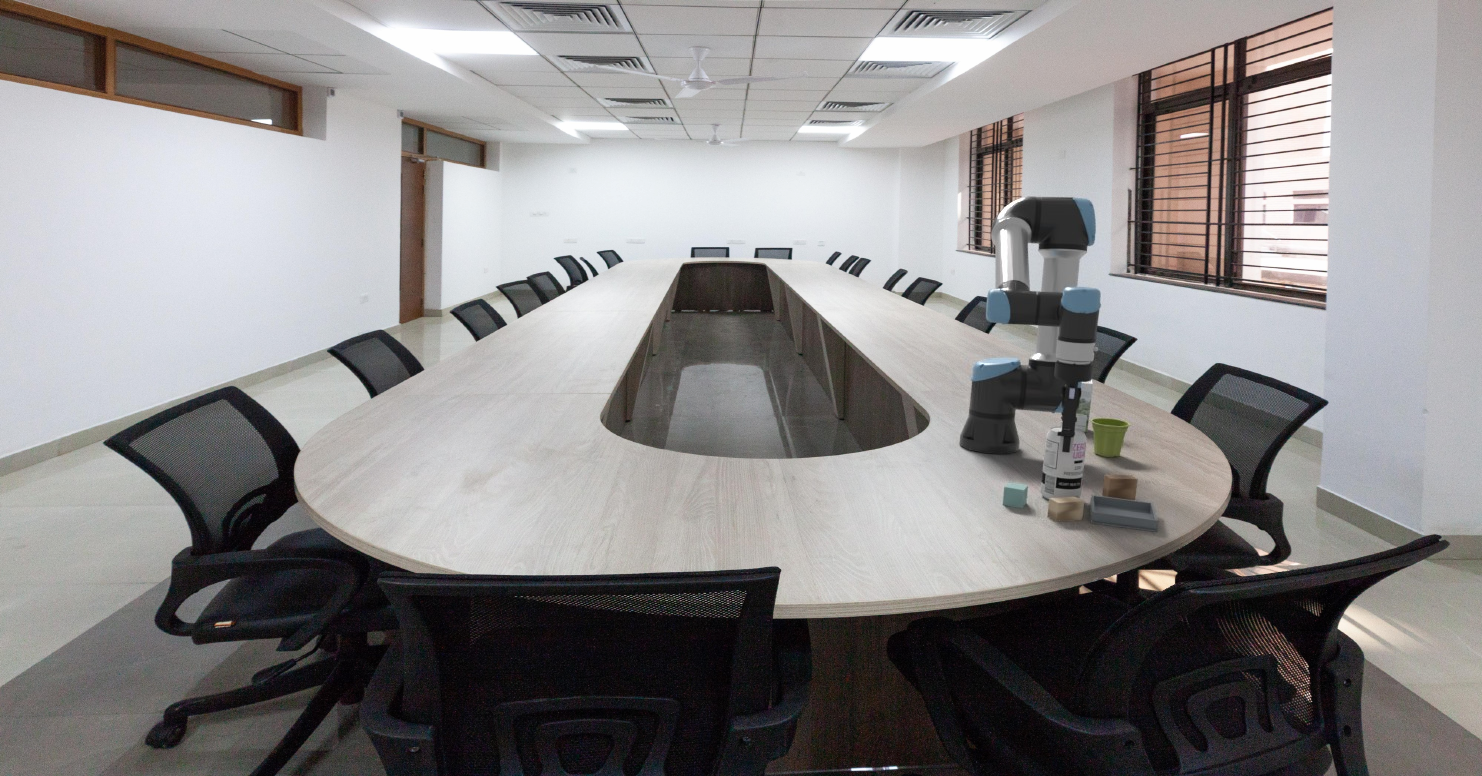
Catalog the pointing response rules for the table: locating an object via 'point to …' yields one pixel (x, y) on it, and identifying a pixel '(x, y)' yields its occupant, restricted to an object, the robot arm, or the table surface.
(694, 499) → the table surface
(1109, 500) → the tray
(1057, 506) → the tan block
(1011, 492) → the teal block
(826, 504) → the table surface
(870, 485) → the table surface
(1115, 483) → the walnut block
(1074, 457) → the supplement can
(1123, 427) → the plant pot
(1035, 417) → the table surface
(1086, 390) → the syrup box
